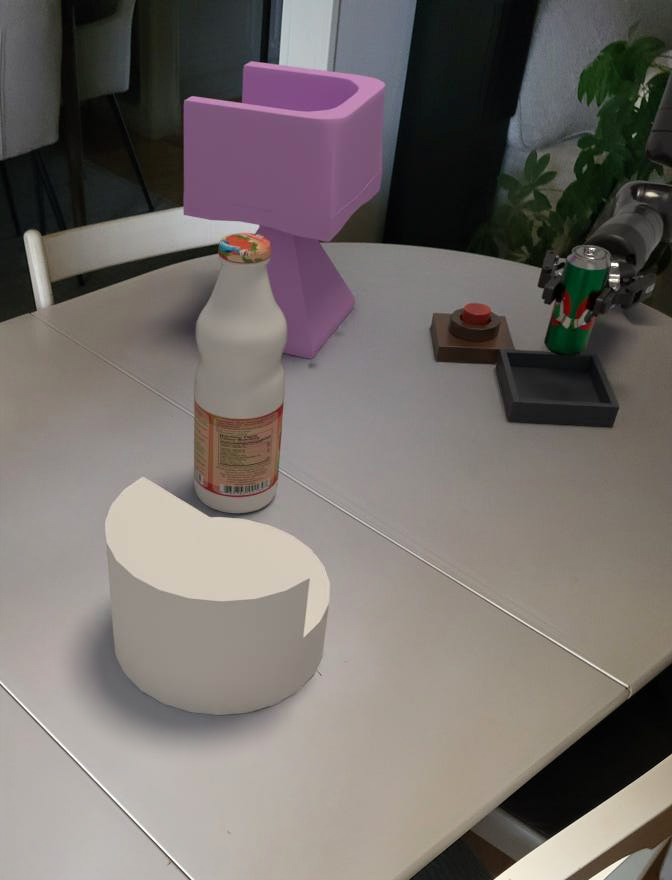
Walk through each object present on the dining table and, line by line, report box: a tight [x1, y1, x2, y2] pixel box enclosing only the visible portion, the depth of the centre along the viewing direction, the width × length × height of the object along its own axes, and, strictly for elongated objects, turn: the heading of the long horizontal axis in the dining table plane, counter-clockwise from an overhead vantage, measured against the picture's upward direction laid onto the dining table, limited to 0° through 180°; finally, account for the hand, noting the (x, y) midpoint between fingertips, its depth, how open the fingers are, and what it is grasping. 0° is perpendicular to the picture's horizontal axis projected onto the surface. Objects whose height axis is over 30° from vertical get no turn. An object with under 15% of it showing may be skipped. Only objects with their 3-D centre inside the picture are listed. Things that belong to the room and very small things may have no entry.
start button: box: [462, 302, 492, 326], centre depth 132 cm, size 4×4×2 cm
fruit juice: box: [193, 232, 287, 514], centre depth 100 cm, size 9×9×28 cm
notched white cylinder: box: [104, 476, 331, 716], centre depth 88 cm, size 20×20×13 cm
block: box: [430, 307, 516, 365], centre depth 134 cm, size 10×10×4 cm
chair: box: [182, 60, 386, 360], centre depth 130 cm, size 20×20×30 cm
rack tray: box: [494, 349, 620, 428], centre depth 124 cm, size 13×14×3 cm
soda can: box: [543, 244, 611, 356], centre depth 117 cm, size 5×5×12 cm
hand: (572, 302), depth 114 cm, fingers closed on soda can, 5 cm apart
